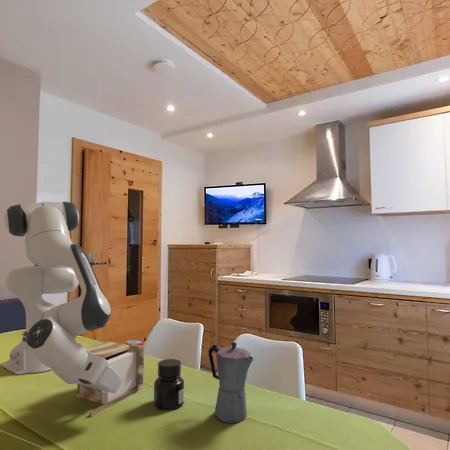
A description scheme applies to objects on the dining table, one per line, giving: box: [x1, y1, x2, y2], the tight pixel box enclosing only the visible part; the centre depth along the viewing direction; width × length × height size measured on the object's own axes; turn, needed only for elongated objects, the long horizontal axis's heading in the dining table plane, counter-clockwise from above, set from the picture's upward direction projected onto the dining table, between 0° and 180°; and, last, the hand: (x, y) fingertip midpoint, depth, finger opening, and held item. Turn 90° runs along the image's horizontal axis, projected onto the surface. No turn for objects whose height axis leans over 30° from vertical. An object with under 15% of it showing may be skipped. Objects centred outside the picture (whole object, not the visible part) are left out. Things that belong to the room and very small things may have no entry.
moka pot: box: [208, 342, 255, 424], centre depth 94 cm, size 10×15×20 cm, turn 58°
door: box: [100, 351, 136, 405], centre depth 104 cm, size 3×12×12 cm, turn 154°
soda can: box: [125, 339, 145, 371], centre depth 123 cm, size 7×7×12 cm
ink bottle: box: [153, 358, 185, 411], centre depth 100 cm, size 10×9×12 cm
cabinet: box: [76, 341, 145, 418], centre depth 104 cm, size 15×21×14 cm
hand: (102, 389), depth 98 cm, fingers closed
